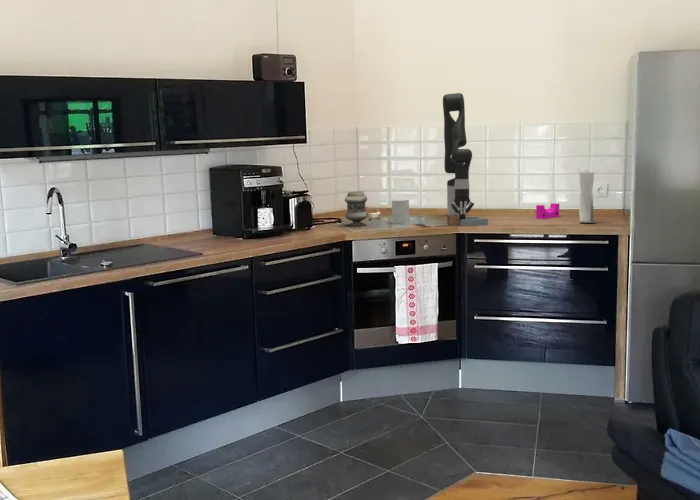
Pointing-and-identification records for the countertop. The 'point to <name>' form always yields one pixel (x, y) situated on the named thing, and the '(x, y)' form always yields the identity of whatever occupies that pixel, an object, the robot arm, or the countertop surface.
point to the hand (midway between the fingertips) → (462, 221)
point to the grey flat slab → (473, 221)
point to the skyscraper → (586, 196)
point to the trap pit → (422, 226)
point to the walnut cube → (453, 220)
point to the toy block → (547, 211)
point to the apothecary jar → (356, 208)
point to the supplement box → (400, 211)
